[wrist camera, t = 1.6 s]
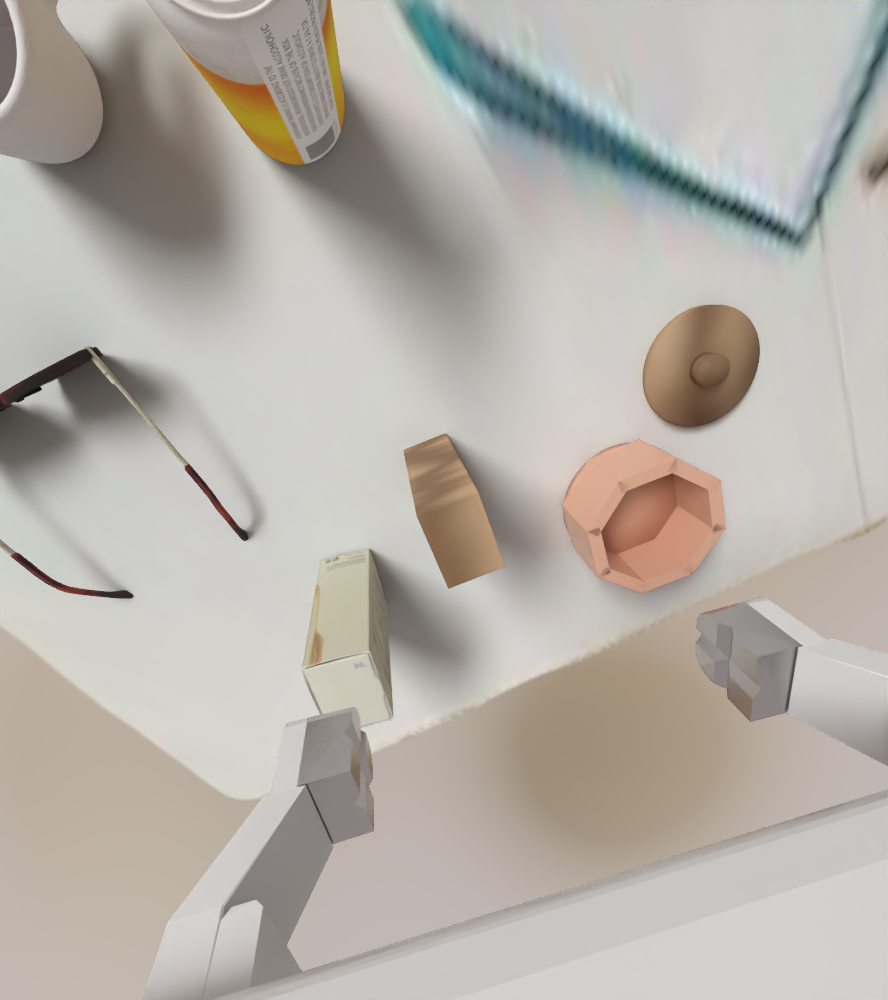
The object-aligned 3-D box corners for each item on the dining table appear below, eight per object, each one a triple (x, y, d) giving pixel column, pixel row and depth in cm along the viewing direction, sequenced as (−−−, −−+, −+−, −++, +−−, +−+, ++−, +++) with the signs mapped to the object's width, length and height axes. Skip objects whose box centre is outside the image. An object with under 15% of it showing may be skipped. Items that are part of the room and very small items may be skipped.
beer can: (283, 3, 25) (172, -367, 11) (367, 111, 27) (361, -84, 13) (211, 96, 26) (29, -136, 12) (298, 193, 28) (227, 90, 14)
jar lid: (743, 286, 34) (769, 285, 32) (751, 398, 38) (774, 404, 36) (631, 331, 35) (648, 333, 32) (649, 438, 38) (666, 447, 36)
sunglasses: (122, 336, 30) (81, 347, 26) (267, 522, 38) (255, 556, 33) (-56, 431, 31) (-125, 458, 26) (122, 595, 38) (92, 638, 34)
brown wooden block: (445, 433, 35) (478, 492, 24) (466, 489, 37) (505, 566, 26) (403, 450, 35) (417, 516, 24) (426, 504, 37) (448, 588, 26)
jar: (671, 423, 38) (717, 441, 33) (686, 529, 42) (729, 560, 37) (550, 470, 38) (577, 496, 33) (578, 571, 42) (605, 607, 37)
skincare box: (318, 558, 38) (296, 665, 27) (370, 546, 38) (369, 646, 27) (340, 619, 41) (328, 739, 29) (389, 607, 41) (394, 722, 30)
